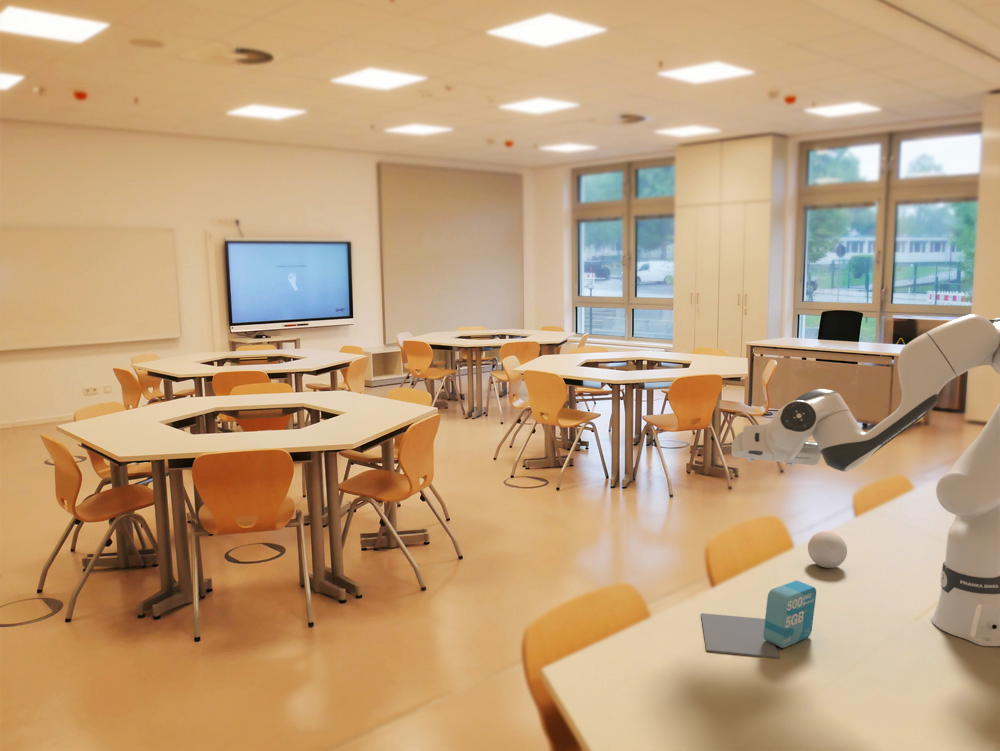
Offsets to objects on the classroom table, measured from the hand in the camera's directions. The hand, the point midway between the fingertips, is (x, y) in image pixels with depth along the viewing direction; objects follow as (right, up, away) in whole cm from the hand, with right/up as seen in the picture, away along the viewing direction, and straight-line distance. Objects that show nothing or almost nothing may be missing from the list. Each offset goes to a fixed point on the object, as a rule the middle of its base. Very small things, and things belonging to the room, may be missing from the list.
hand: (769, 461), depth 192 cm
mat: (-13, -37, -18) cm, 44 cm away
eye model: (+24, -32, +22) cm, 45 cm away
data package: (-3, -38, -20) cm, 43 cm away
